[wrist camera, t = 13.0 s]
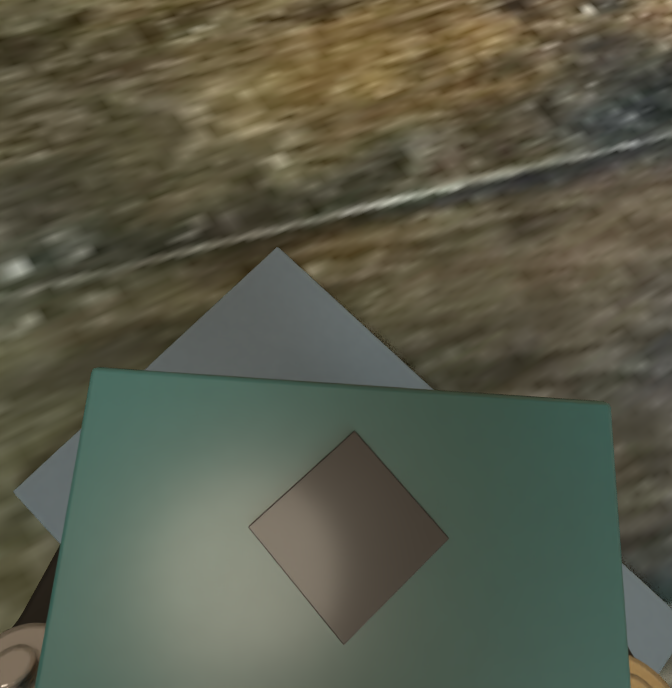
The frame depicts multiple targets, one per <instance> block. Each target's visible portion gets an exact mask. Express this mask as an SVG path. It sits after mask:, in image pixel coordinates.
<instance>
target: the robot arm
mask: <svg viewBox="0 0 672 688" xmlns="http://www.w3.org/2000/svg"><path fill="white" fill-rule="evenodd" d="M59 549H60V546H59V548H58V550H57V552H56V553H55V555H54V557H53V559H52V561H51V562H50V564H49V566H48V568H47V570H46V571H45V573H44V575H43V577H42V579H41V581H40V582H39V584H38V586H37V588H36V590H35V591H34V593H33V595H32V597H31V599H30V600H29V602H28V604H27V606H26V608H25V610H24V611H23V613H22V615H21V616H20V618H19V619H18V621H17V622H16V623H15V625H14V626H13V627H12V628H11V629H9V630H6V631H5V632H3V633H1V634H0V688H35V682H36V677H37V671H38V666H39V660H40V655H41V649H42V644H43V638H44V633H45V627H46V622H47V616H48V610H49V605H50V599H51V594H52V588H53V583H54V577H55V572H56V566H57V561H58V555H59ZM628 655H629V668H630V682H631V688H670V687H669V685H668V684H667V683H666V682H665V681H664V680H663V679H662V677H661V676H660V675H659V674H658V673H656V672H655V671H654V670H653V669H652V668H650V667H649V666H648V665H646V664H645V663H643V662H642V661H640V660H639V659H637V658H635V657H634V656H633V654H632V653H631V651H630V649H629V647H628Z"/></svg>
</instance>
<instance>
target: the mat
mask: <svg viewBox="0 0 672 688" xmlns="http://www.w3.org/2000/svg"><path fill="white" fill-rule="evenodd" d="M145 370H148V371H163V372H178V373H193V374H207V375H222V376H237V377H252V378H267V379H281V380H296V381H311V382H326V383H341V384H355V385H370V386H385V387H400V388H414V389H429V390H433V389H432V388H431V387H430V386H429V385H428V384H427V383H426V382H424V381H423V380H422V379H421V378H420V377H419V376H418V375H417V374H416V373H415V372H414V371H412V370H411V369H410V368H409V367H408V366H407V365H406V364H405V363H404V362H403V361H402V360H400V359H399V358H398V357H397V356H396V355H395V354H394V353H393V352H392V351H391V350H390V349H388V348H387V347H386V346H385V345H384V344H383V343H382V342H381V341H380V340H379V339H378V338H377V337H375V336H374V335H373V334H372V333H371V332H370V331H369V330H368V329H367V328H366V327H365V326H363V325H362V324H361V323H360V322H359V321H358V320H357V319H356V318H355V317H354V316H353V315H351V314H350V313H349V312H348V311H347V310H346V309H345V308H344V307H343V306H342V305H341V304H339V303H338V302H337V301H336V300H335V299H334V298H333V297H332V296H331V295H330V294H329V293H328V292H326V291H325V290H324V289H323V288H322V287H321V286H320V285H319V284H318V283H317V282H316V281H314V280H313V279H312V278H311V277H310V276H309V275H308V274H307V273H306V272H305V271H304V270H302V269H301V268H300V267H299V266H298V265H297V264H296V263H295V262H294V261H293V260H292V259H290V258H289V257H288V256H287V255H286V254H285V253H284V252H283V251H282V250H281V249H280V248H278V247H276V248H275V249H274V250H273V251H272V252H271V253H270V254H269V255H268V256H267V257H266V258H265V259H264V260H262V261H261V262H260V263H259V264H258V265H257V266H256V267H255V268H254V269H253V270H252V271H251V272H249V273H248V274H247V275H246V276H245V277H244V278H243V279H242V280H241V281H240V282H239V283H238V284H237V285H235V286H234V287H233V288H232V289H231V290H230V291H229V292H228V293H227V294H226V295H225V296H224V297H222V298H221V299H220V300H219V301H218V302H217V303H216V304H215V305H214V306H213V307H212V308H211V309H210V310H208V311H207V312H206V313H205V314H204V315H203V316H202V317H201V318H200V319H199V320H198V321H197V322H195V323H194V324H193V325H192V326H191V327H190V328H189V329H188V330H187V331H186V332H185V333H184V334H183V335H181V336H180V337H179V338H178V339H177V340H176V341H175V342H174V343H173V344H172V345H171V346H170V347H168V348H167V349H166V350H165V351H164V352H163V353H162V354H161V355H160V356H159V357H158V358H157V359H155V360H154V361H153V362H152V363H151V364H150V365H149V366H148V367H147V368H146V369H145ZM80 433H81V429H80V430H79V431H78V432H77V433H76V434H74V435H73V436H72V437H71V438H70V439H69V440H68V441H67V442H66V443H65V444H64V445H63V446H62V447H60V448H59V449H58V450H57V451H56V452H55V453H54V454H53V455H52V456H51V457H50V458H49V459H47V460H46V461H45V462H44V463H43V464H42V465H41V466H40V467H39V468H38V469H37V470H36V471H35V472H33V473H32V474H31V475H30V476H29V477H28V478H27V479H26V480H25V481H24V482H23V483H22V484H20V485H19V486H18V487H17V488H16V489H15V490H14V491H13V492H14V494H15V495H16V496H17V497H18V498H19V499H20V500H21V501H22V502H23V504H24V505H25V506H26V507H27V508H28V509H29V510H30V511H31V512H32V513H33V515H34V516H35V517H36V518H37V519H38V520H39V521H40V522H41V523H42V524H43V526H44V527H45V528H46V529H47V530H48V531H49V532H50V533H51V534H52V536H53V537H54V538H55V539H56V540H57V541H58V542H59V543H60V544H61V538H62V533H63V527H64V522H65V516H66V511H67V505H68V500H69V494H70V489H71V483H72V477H73V472H74V466H75V461H76V455H77V450H78V444H79V439H80ZM622 572H623V586H624V599H625V613H626V627H627V641H628V647H629V649H630V651H631V653H632V654H633V656H634V657H635V658H637V659H639V660H640V661H642V662H643V663H645V664H646V665H648V666H649V667H650V668H652V669H653V670H654V671H655V672H656V673H658V674H659V672H660V671H661V669H662V668H663V666H664V665H665V663H666V662H667V660H668V659H669V657H670V656H671V654H672V608H671V607H669V606H668V605H667V604H666V603H665V602H664V601H663V600H662V599H661V598H660V597H659V596H657V595H656V594H655V593H654V592H653V591H652V590H651V589H650V588H649V587H648V586H647V585H645V584H644V583H643V582H642V581H641V580H640V579H639V578H638V577H637V576H636V575H635V574H634V573H632V572H631V571H630V570H629V569H628V568H627V567H626V566H625V565H624V564H623V563H622Z"/></svg>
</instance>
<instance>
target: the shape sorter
mask: <svg viewBox="0 0 672 688" xmlns="http://www.w3.org/2000/svg"><path fill="white" fill-rule="evenodd" d="M35 688H631V682H630V668H629V655H628V641H627V627H626V613H625V599H624V586H623V572H622V558H621V544H620V531H619V517H618V503H617V489H616V476H615V462H614V448H613V434H612V421H611V407H610V405H609V403H606V402H604V401H592V400H577V399H562V398H548V397H533V396H518V395H503V394H488V393H474V392H459V391H444V390H429V389H414V388H400V387H385V386H370V385H355V384H341V383H326V382H311V381H296V380H281V379H267V378H252V377H237V376H222V375H207V374H193V373H178V372H163V371H148V370H134V369H119V368H104V367H98V368H95V369H93V370H92V372H91V378H90V383H89V389H88V394H87V400H86V405H85V411H84V416H83V422H82V428H81V433H80V439H79V444H78V450H77V455H76V461H75V466H74V472H73V477H72V483H71V489H70V494H69V500H68V505H67V511H66V516H65V522H64V527H63V533H62V538H61V544H60V549H59V555H58V561H57V566H56V572H55V577H54V583H53V588H52V594H51V599H50V605H49V610H48V616H47V622H46V627H45V633H44V638H43V644H42V649H41V655H40V660H39V666H38V671H37V677H36V682H35Z"/></svg>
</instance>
